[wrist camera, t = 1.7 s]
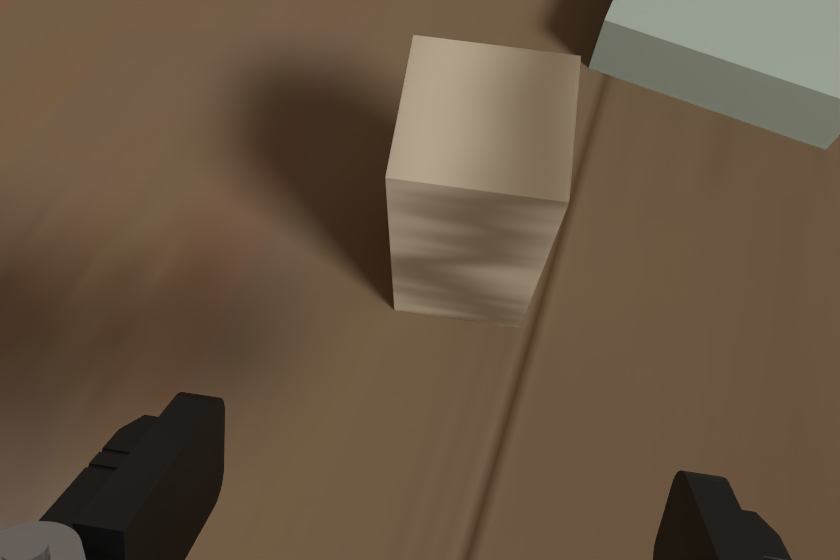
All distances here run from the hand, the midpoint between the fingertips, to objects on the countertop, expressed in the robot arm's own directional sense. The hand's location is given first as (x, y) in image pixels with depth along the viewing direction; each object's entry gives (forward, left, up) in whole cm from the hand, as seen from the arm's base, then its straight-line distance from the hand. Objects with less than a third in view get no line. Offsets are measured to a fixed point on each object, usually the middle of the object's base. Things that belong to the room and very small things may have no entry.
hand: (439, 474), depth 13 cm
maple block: (-3, +10, -14) cm, 18 cm away
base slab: (+4, +27, -14) cm, 31 cm away
